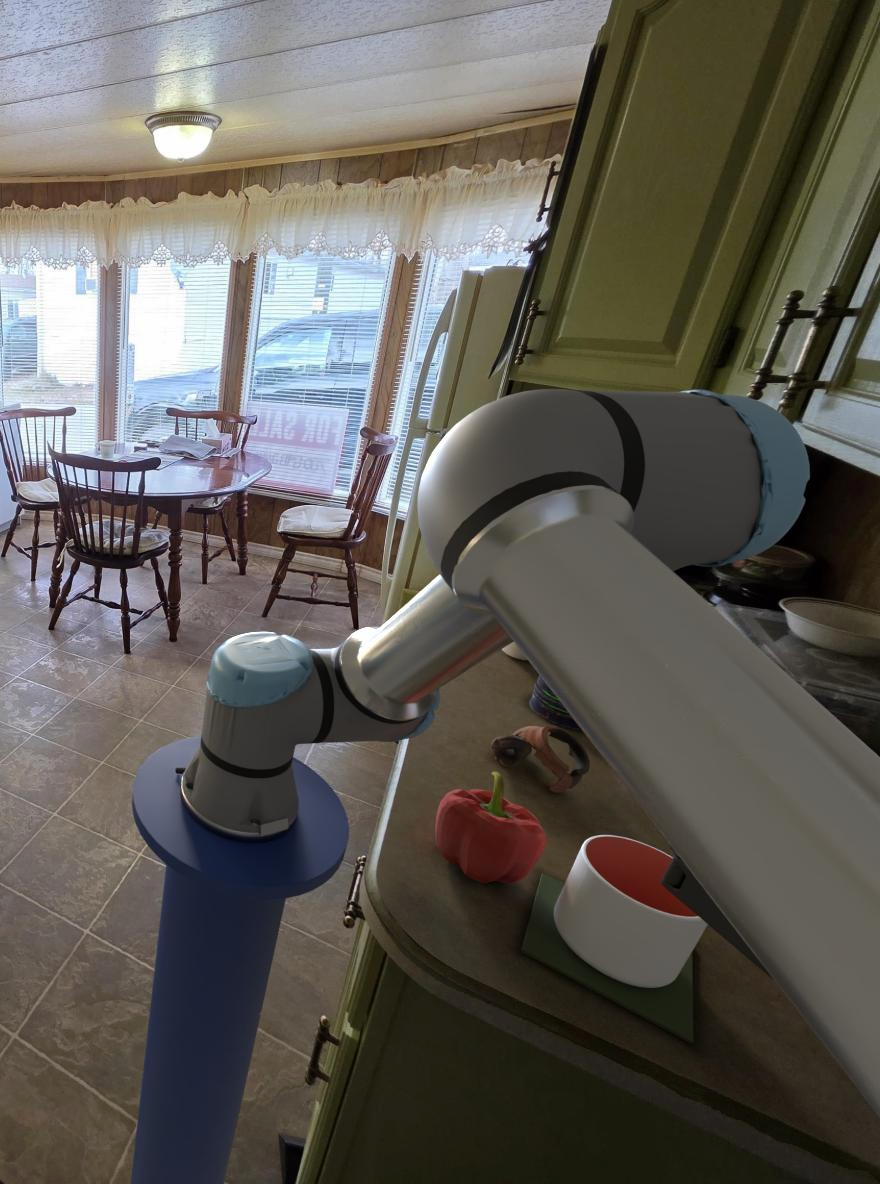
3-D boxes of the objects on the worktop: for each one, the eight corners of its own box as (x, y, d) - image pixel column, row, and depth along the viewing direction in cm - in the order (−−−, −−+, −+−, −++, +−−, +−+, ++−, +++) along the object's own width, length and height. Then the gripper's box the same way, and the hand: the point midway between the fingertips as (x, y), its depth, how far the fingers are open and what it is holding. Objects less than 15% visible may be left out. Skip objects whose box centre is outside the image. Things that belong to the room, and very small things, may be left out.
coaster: (520, 951, 64) (522, 949, 64) (541, 875, 73) (542, 872, 73) (691, 1044, 56) (693, 1041, 56) (690, 945, 65) (692, 943, 65)
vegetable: (428, 816, 81) (448, 753, 77) (523, 848, 77) (550, 782, 73) (425, 876, 72) (447, 808, 68) (532, 916, 68) (563, 846, 64)
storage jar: (534, 689, 111) (563, 612, 105) (605, 712, 104) (639, 632, 99) (522, 712, 104) (552, 631, 98) (597, 739, 98) (633, 654, 92)
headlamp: (528, 747, 96) (576, 722, 90) (557, 809, 90) (610, 786, 84) (462, 733, 94) (507, 707, 88) (487, 796, 87) (537, 772, 81)
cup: (584, 986, 60) (622, 910, 57) (531, 898, 70) (560, 828, 66) (700, 1003, 59) (747, 927, 55) (630, 911, 68) (667, 841, 64)
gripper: (712, 1109, 33) (567, 823, 51) (1471, 1346, 26) (983, 915, 44) (780, 1014, 30) (599, 747, 48) (1657, 1253, 23) (1051, 833, 41)
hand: (782, 827), depth 46 cm, fingers open, 13 cm apart
